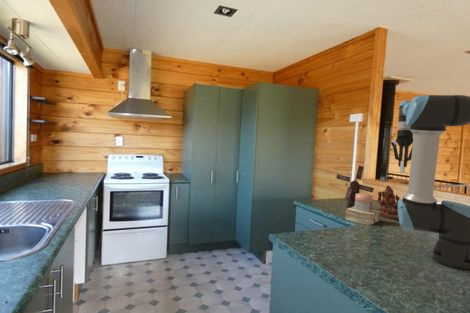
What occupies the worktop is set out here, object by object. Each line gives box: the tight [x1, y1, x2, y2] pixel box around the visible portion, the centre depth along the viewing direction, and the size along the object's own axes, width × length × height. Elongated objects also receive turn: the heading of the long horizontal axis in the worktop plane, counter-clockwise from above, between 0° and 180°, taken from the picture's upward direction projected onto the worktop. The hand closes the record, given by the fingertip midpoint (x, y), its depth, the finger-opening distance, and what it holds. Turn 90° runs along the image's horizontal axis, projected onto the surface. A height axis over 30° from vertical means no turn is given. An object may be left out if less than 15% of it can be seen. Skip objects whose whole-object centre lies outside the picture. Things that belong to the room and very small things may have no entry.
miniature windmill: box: [335, 165, 375, 209], centre depth 195 cm, size 25×11×30 cm, turn 62°
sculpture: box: [377, 185, 401, 222], centre depth 176 cm, size 17×8×20 cm, turn 22°
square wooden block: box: [344, 206, 381, 226], centre depth 168 cm, size 14×14×6 cm
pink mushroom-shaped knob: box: [355, 192, 373, 204], centre depth 167 cm, size 9×9×9 cm
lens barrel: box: [354, 201, 373, 212], centre depth 167 cm, size 8×8×5 cm
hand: (402, 172), depth 157 cm, fingers closed
